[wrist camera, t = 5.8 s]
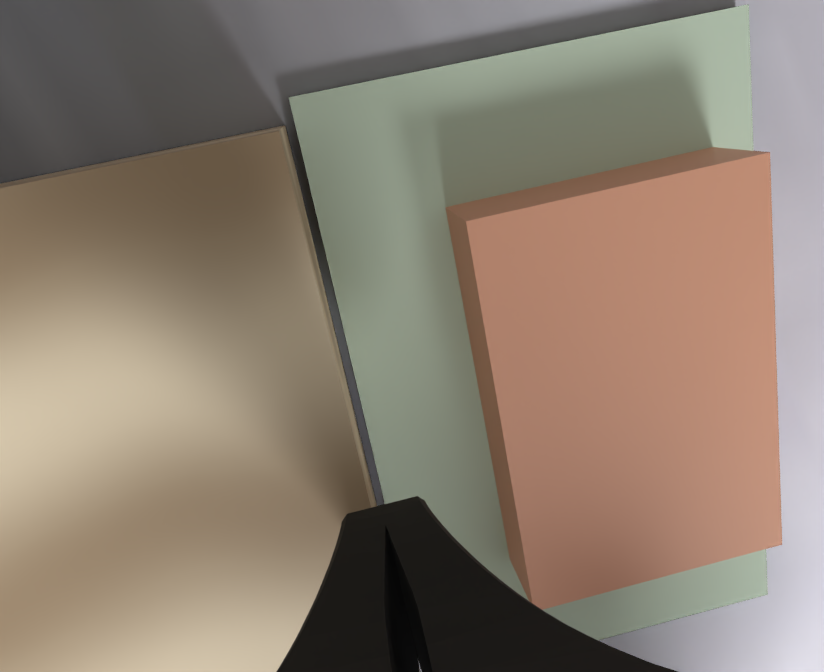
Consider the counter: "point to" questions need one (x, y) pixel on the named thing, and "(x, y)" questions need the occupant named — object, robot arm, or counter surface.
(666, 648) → the counter surface
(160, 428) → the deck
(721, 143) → the mat
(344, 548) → the robot arm
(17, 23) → the counter surface
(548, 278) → the tile
